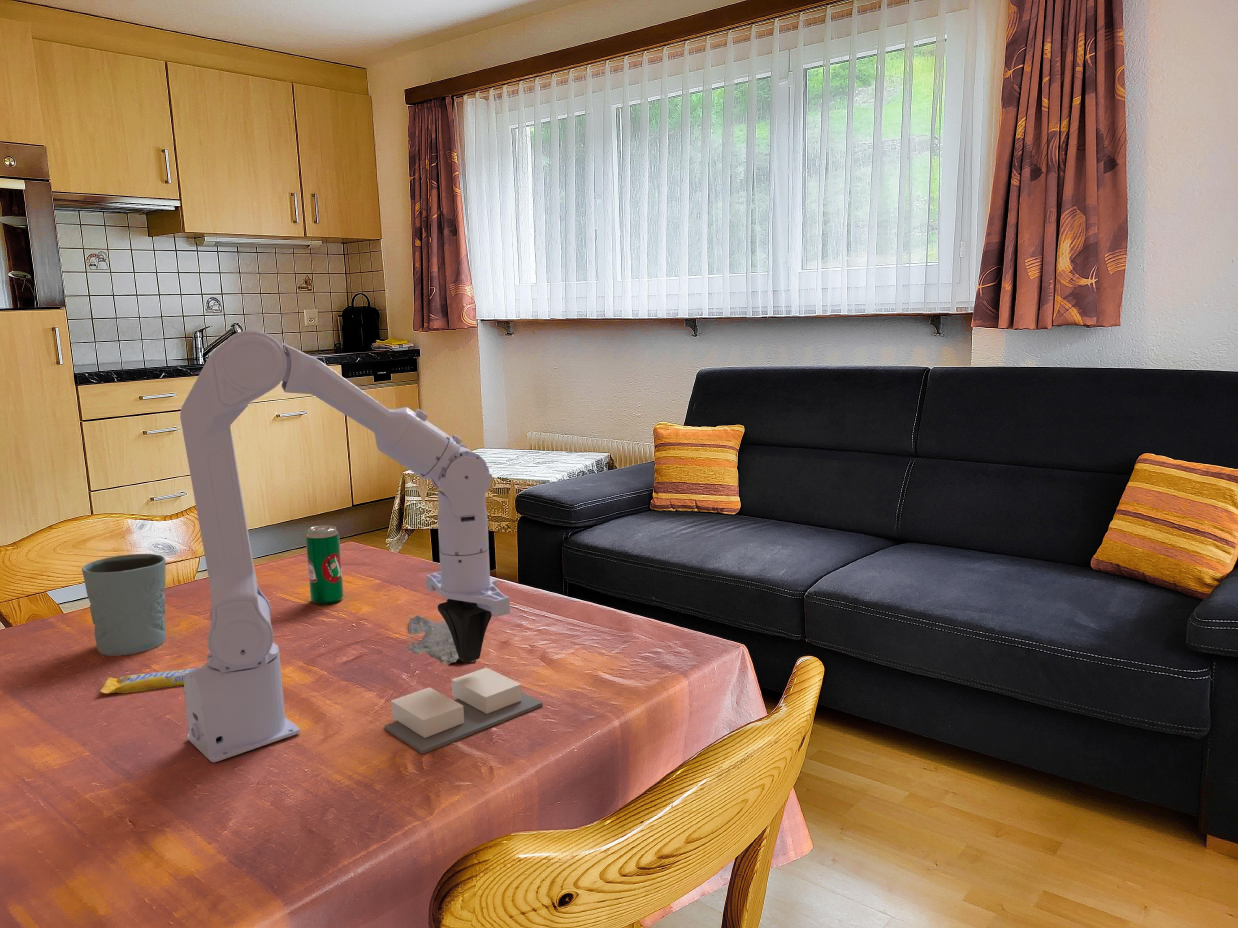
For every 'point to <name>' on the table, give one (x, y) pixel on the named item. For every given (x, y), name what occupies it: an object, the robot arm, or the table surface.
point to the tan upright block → (486, 690)
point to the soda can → (324, 564)
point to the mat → (471, 725)
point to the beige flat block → (427, 712)
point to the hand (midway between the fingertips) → (469, 659)
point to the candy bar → (145, 681)
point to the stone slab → (433, 640)
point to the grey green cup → (127, 602)
